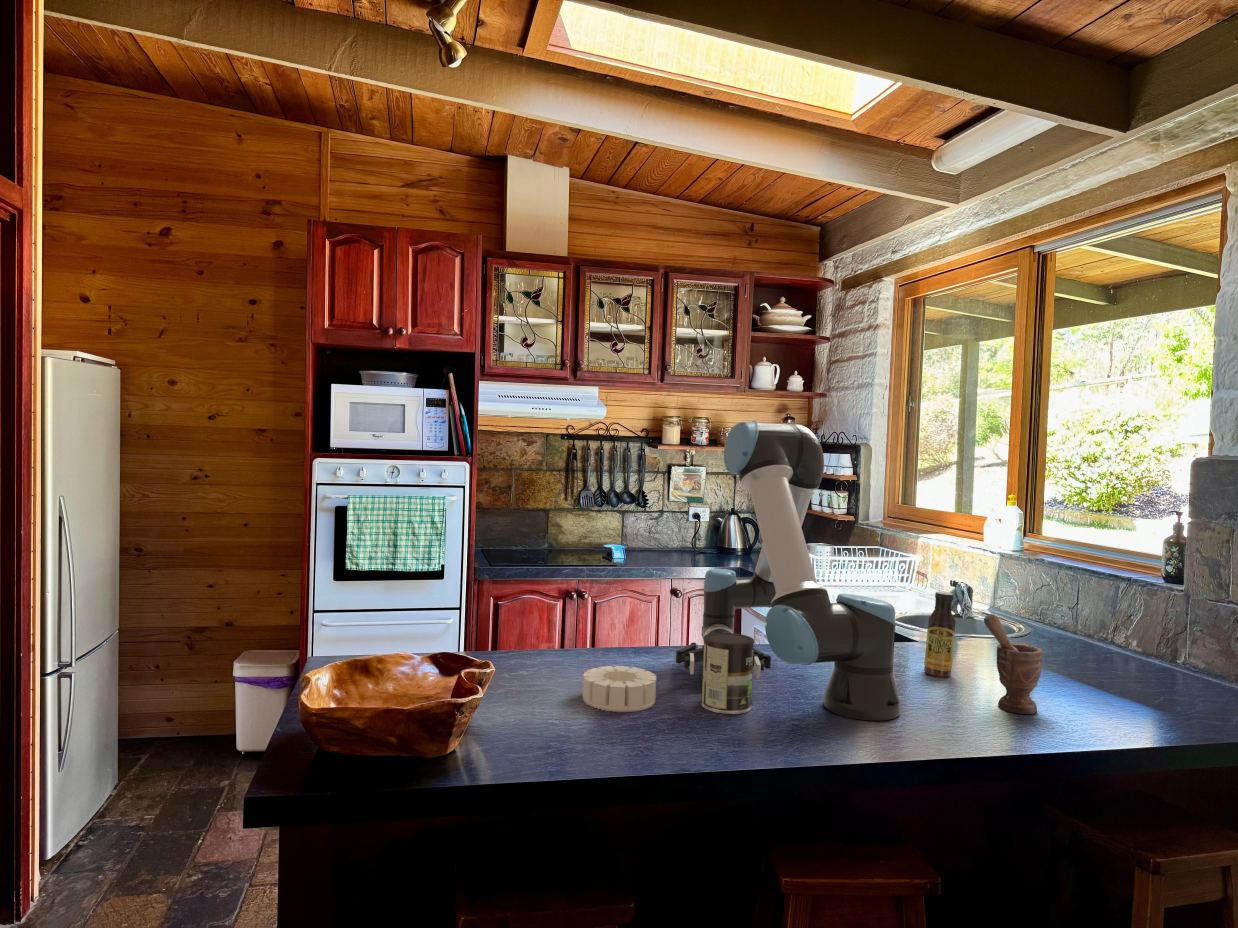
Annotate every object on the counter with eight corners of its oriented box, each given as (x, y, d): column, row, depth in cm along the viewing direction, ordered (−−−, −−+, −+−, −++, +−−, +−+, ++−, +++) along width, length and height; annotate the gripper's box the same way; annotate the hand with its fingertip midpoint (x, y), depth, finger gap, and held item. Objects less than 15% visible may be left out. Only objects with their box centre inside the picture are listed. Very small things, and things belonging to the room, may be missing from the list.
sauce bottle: (923, 675, 196) (927, 593, 195) (924, 669, 202) (927, 589, 201) (953, 679, 193) (956, 595, 193) (952, 672, 199) (956, 591, 199)
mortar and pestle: (1006, 719, 166) (1011, 621, 165) (973, 705, 174) (978, 612, 173) (1048, 713, 170) (1053, 618, 170) (1014, 701, 178) (1019, 609, 178)
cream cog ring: (656, 690, 176) (656, 667, 176) (654, 713, 161) (655, 688, 161) (586, 687, 177) (587, 664, 177) (578, 709, 162) (579, 684, 162)
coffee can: (752, 700, 172) (755, 634, 172) (750, 716, 162) (753, 646, 161) (703, 696, 174) (706, 630, 174) (698, 711, 164) (701, 641, 164)
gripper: (773, 663, 189) (786, 690, 168) (665, 657, 190) (663, 684, 169) (775, 630, 188) (787, 654, 167) (666, 625, 190) (665, 648, 169)
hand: (725, 669), depth 168 cm, fingers open, 13 cm apart
